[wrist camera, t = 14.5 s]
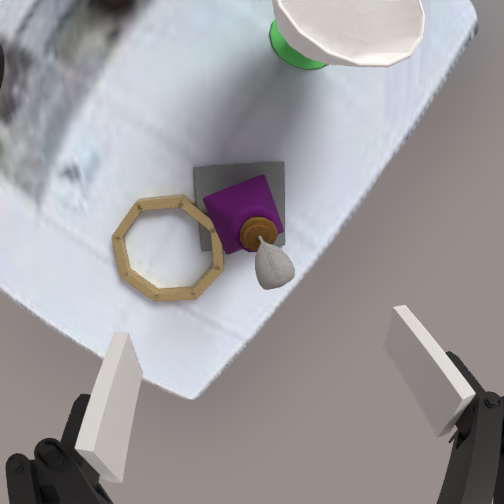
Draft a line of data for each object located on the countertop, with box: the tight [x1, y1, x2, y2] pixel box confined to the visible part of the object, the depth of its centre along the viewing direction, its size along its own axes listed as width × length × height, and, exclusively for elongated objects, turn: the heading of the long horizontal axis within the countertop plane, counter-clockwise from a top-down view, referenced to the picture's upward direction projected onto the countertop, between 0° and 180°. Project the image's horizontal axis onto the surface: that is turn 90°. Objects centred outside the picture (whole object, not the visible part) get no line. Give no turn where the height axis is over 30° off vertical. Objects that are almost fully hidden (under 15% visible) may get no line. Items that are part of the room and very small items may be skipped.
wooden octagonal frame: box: [112, 194, 224, 302], centre depth 39 cm, size 14×14×2 cm
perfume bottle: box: [203, 174, 295, 290], centre depth 30 cm, size 8×8×18 cm
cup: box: [270, 0, 425, 69], centre depth 23 cm, size 14×14×16 cm
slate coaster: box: [194, 162, 285, 251], centre depth 38 cm, size 11×11×1 cm
